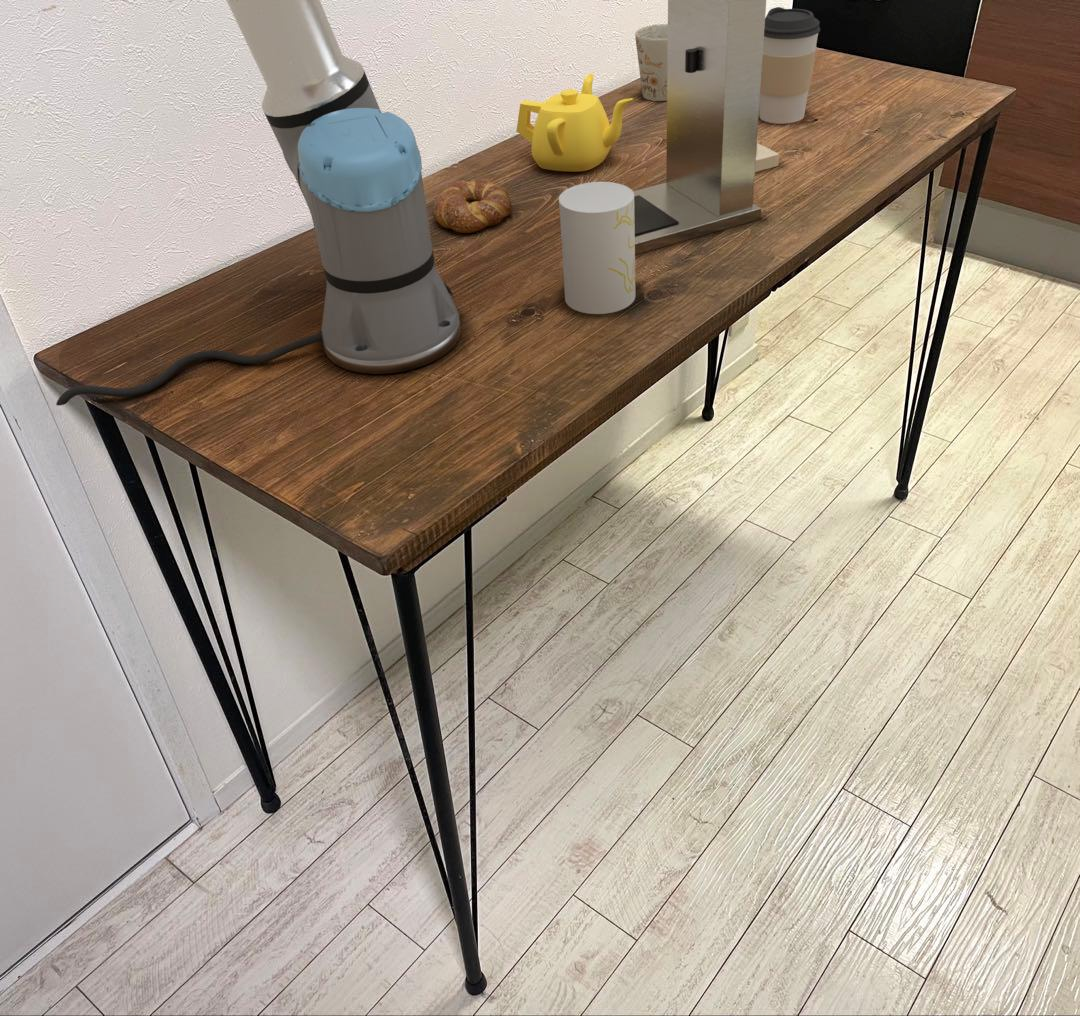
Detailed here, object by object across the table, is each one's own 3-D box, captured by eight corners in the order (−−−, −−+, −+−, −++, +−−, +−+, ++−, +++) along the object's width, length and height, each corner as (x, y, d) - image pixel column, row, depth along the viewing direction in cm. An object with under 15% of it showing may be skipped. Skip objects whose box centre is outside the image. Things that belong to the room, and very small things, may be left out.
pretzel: (500, 237, 132) (498, 210, 129) (420, 235, 134) (416, 208, 132) (522, 199, 141) (520, 173, 138) (447, 197, 143) (443, 171, 140)
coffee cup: (824, 115, 157) (835, 10, 147) (781, 130, 153) (789, 24, 144) (782, 101, 163) (790, 0, 153) (739, 116, 159) (745, 12, 150)
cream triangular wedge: (718, 182, 140) (719, 157, 138) (687, 164, 146) (687, 139, 144) (778, 165, 143) (780, 141, 141) (746, 148, 149) (747, 124, 147)
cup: (630, 315, 114) (628, 213, 106) (559, 312, 116) (552, 212, 108) (639, 281, 120) (638, 182, 112) (571, 278, 122) (566, 181, 114)
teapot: (635, 165, 147) (634, 94, 141) (550, 185, 144) (545, 114, 137) (594, 136, 157) (591, 69, 151) (513, 154, 154) (507, 86, 147)
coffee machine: (623, 258, 125) (619, 0, 106) (572, 218, 135) (559, -24, 116) (760, 219, 131) (778, -32, 112) (701, 183, 141) (709, -53, 122)
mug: (631, 90, 172) (631, 27, 166) (704, 82, 173) (707, 19, 166) (640, 106, 166) (640, 41, 160) (716, 98, 166) (719, 33, 160)
